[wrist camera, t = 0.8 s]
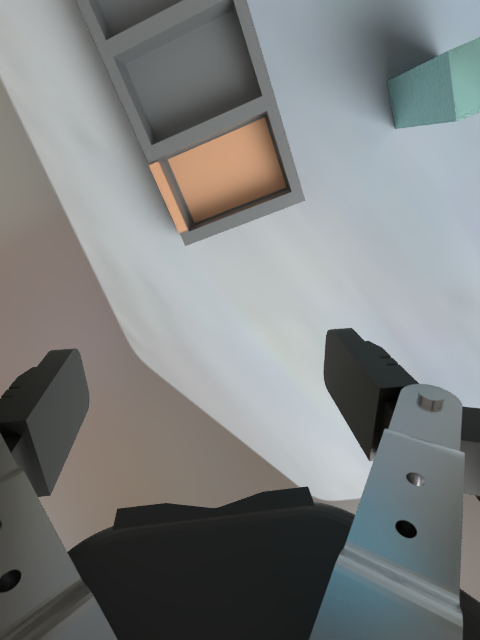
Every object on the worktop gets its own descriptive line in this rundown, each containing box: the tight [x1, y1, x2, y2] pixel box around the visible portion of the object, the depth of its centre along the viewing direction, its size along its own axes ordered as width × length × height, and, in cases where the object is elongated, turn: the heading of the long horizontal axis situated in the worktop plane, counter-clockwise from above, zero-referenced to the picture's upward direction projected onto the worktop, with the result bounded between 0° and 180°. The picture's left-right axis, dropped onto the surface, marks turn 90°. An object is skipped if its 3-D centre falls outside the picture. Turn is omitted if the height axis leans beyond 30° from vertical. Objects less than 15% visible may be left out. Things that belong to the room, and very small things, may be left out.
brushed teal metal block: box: [387, 38, 480, 129], centre depth 24 cm, size 4×4×10 cm
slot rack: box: [76, 0, 305, 246], centre depth 27 cm, size 22×11×4 cm, turn 21°
